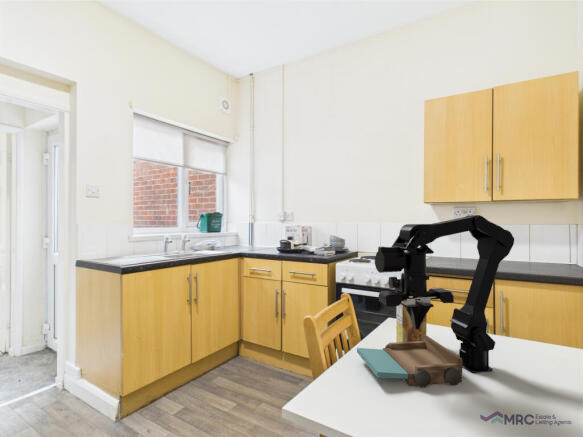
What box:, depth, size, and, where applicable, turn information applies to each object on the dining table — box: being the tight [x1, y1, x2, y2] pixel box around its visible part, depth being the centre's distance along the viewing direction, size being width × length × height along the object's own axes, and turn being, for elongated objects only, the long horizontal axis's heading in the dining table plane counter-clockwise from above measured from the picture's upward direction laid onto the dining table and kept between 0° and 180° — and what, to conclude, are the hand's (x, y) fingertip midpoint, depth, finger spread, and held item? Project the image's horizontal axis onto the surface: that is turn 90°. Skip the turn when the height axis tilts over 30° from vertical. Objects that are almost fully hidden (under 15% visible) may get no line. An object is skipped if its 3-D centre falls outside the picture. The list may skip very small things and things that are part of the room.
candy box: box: [395, 296, 428, 342], centre depth 105 cm, size 9×4×15 cm, turn 103°
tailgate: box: [356, 347, 408, 380], centre depth 85 cm, size 2×15×8 cm
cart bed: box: [382, 335, 463, 389], centre depth 87 cm, size 14×18×6 cm
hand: (416, 328), depth 85 cm, fingers closed
